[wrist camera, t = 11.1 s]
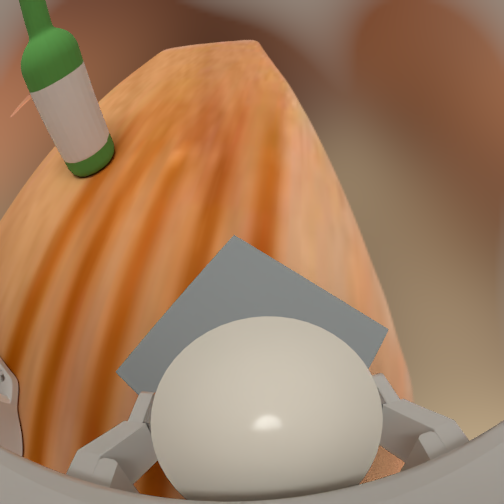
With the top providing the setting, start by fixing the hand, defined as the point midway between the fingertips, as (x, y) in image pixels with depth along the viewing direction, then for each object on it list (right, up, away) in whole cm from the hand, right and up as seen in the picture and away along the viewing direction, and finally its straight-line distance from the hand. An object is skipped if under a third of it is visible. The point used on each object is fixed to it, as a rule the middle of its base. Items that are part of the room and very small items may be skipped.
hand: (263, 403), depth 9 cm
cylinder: (0, -3, +3) cm, 4 cm away
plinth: (0, -4, +13) cm, 14 cm away
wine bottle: (-24, +19, +28) cm, 41 cm away
